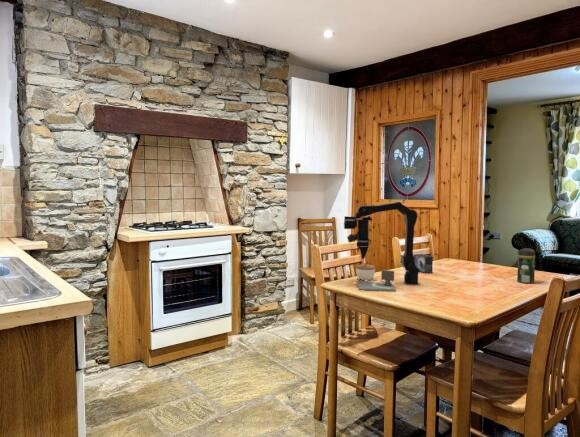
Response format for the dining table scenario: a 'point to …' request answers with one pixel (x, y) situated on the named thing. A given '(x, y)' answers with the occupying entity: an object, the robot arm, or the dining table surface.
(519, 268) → the coffee jar
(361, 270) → the lidded jar
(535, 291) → the dining table surface
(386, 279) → the peg knob
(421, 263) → the small box
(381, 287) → the tuner board
